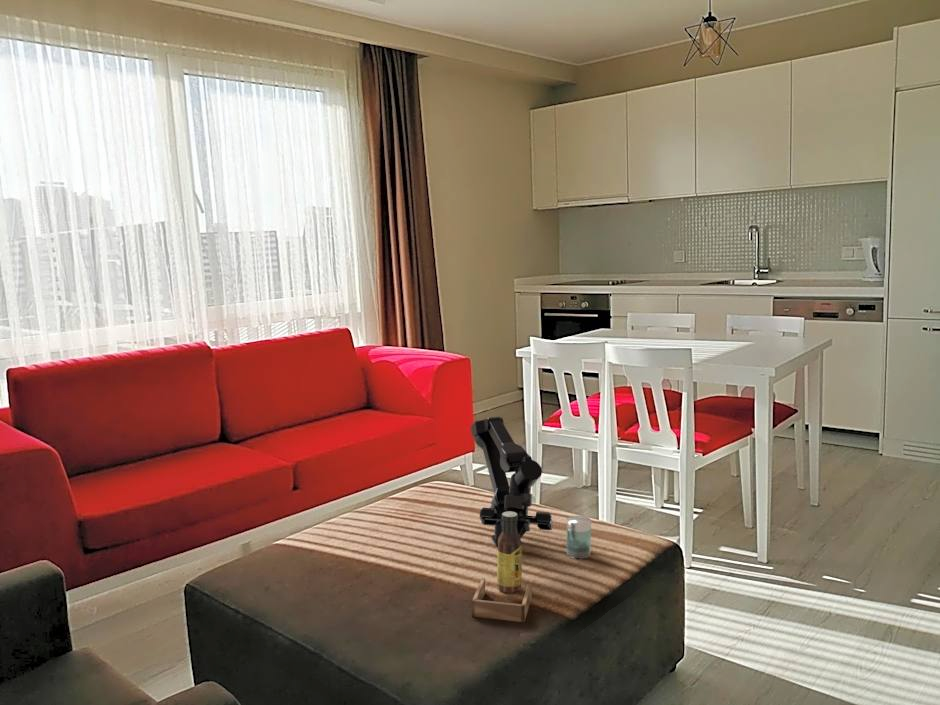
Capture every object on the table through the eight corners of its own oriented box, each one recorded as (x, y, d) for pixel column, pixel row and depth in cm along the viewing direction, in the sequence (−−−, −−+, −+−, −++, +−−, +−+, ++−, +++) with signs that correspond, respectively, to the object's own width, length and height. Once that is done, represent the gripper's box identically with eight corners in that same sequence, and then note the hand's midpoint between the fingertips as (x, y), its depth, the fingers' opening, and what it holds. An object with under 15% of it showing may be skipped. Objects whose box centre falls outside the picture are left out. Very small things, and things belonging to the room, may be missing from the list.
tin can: (563, 550, 223) (563, 516, 221) (585, 547, 224) (586, 514, 223) (571, 560, 217) (571, 526, 215) (594, 558, 218) (594, 523, 216)
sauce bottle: (519, 595, 197) (520, 520, 194) (495, 593, 199) (495, 518, 195) (523, 583, 204) (523, 510, 200) (499, 581, 205) (499, 508, 201)
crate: (482, 592, 199) (482, 578, 198) (531, 598, 196) (531, 583, 195) (471, 616, 187) (471, 600, 187) (524, 622, 185) (524, 606, 184)
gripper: (480, 478, 207) (472, 534, 199) (551, 483, 203) (545, 541, 195) (486, 496, 216) (478, 551, 208) (554, 501, 212) (549, 557, 204)
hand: (512, 549), depth 203 cm, fingers closed
